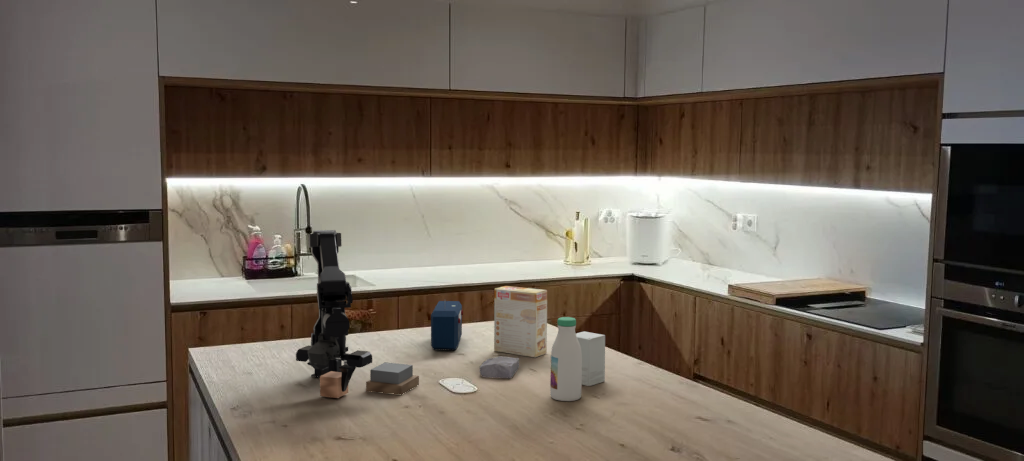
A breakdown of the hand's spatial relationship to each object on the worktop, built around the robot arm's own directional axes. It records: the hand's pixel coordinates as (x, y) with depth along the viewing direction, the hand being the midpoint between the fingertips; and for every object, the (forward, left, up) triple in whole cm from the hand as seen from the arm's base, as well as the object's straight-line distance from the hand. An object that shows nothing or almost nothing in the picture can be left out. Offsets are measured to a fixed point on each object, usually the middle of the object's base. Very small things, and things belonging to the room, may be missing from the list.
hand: (334, 390), depth 212 cm
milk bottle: (+54, +20, -2) cm, 58 cm away
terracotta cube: (0, 0, -1) cm, 1 cm away
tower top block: (+10, +12, +1) cm, 15 cm away
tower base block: (+10, +12, -2) cm, 16 cm away
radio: (+3, +62, -2) cm, 62 cm away
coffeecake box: (+28, +60, -2) cm, 66 cm away
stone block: (+30, +36, -2) cm, 47 cm away
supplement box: (+55, +36, -2) cm, 66 cm away
